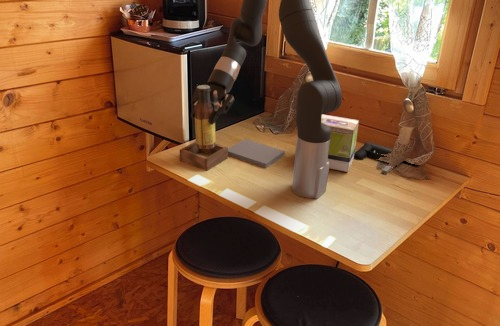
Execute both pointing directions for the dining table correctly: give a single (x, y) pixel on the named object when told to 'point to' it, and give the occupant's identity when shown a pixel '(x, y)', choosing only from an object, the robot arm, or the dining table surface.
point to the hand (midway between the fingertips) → (201, 120)
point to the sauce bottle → (204, 119)
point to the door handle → (373, 153)
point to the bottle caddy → (205, 163)
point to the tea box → (341, 141)
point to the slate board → (255, 153)
